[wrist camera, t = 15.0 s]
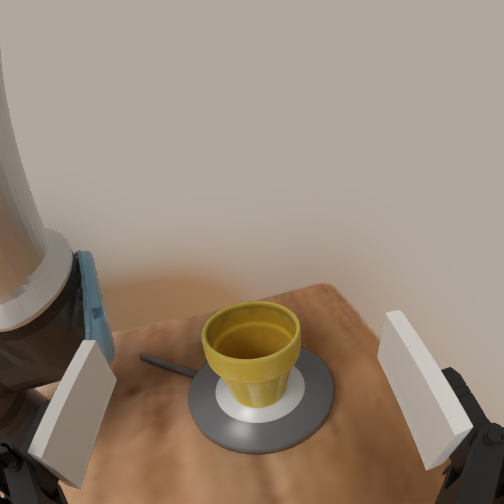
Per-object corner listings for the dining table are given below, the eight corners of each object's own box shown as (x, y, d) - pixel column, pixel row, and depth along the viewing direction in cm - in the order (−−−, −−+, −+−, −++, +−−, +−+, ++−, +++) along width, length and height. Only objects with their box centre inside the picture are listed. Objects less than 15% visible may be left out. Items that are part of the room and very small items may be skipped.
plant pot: (297, 355, 39) (295, 295, 35) (306, 416, 29) (306, 356, 25) (221, 361, 39) (207, 302, 36) (213, 422, 30) (192, 363, 26)
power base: (105, 393, 36) (100, 386, 36) (173, 324, 51) (171, 318, 50) (308, 471, 24) (309, 466, 23) (345, 356, 39) (346, 349, 38)
